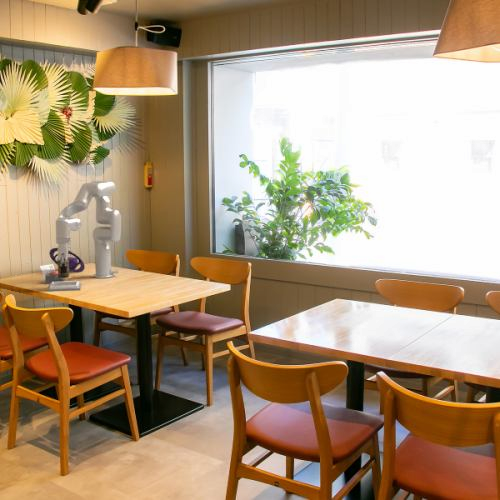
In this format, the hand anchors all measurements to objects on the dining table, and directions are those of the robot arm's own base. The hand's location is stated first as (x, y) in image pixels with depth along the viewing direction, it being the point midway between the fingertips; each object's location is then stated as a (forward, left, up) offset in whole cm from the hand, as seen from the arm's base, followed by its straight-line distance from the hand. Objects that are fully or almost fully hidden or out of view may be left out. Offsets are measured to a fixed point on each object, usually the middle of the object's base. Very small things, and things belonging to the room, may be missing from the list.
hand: (64, 271), depth 353 cm
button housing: (+7, -19, -9) cm, 22 cm away
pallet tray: (0, 0, -9) cm, 9 cm away
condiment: (0, +1, -3) cm, 3 cm away
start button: (+7, -19, -6) cm, 21 cm away
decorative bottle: (+2, -57, -10) cm, 57 cm away
